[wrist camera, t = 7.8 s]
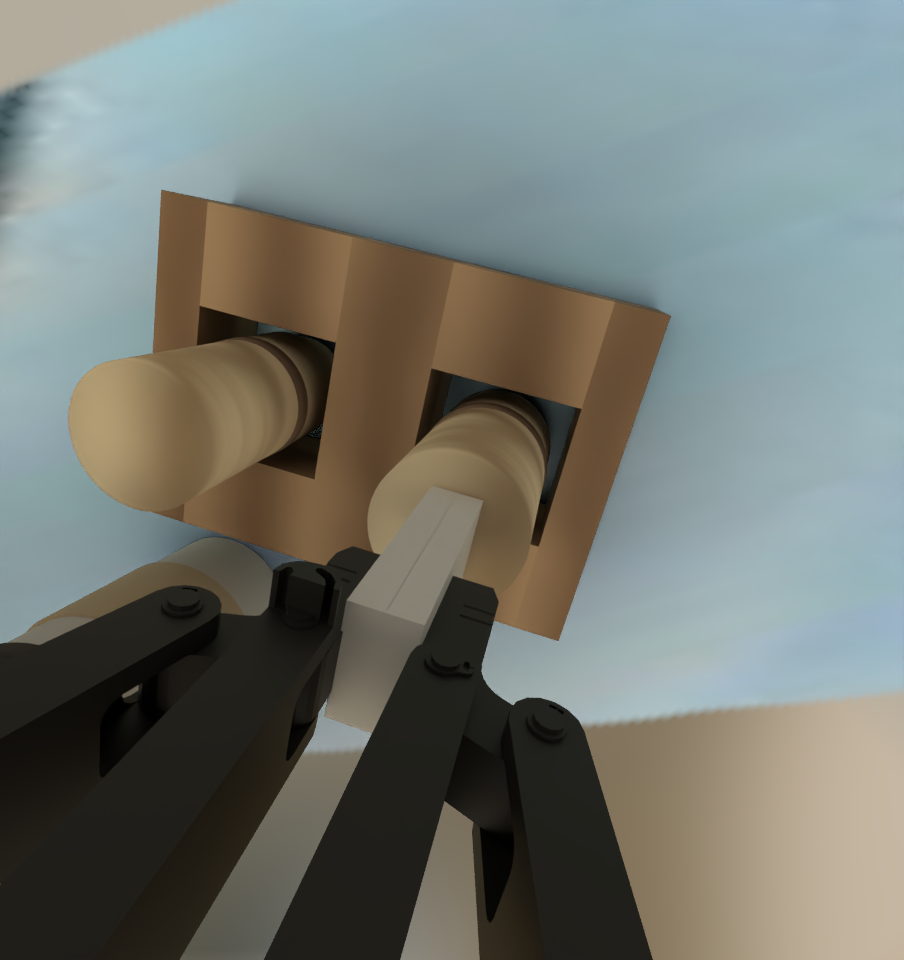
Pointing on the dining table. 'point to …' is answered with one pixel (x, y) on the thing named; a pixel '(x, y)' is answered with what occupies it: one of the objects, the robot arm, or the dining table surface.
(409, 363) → the board
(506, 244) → the dining table surface
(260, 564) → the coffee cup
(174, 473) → the peg
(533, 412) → the peg
